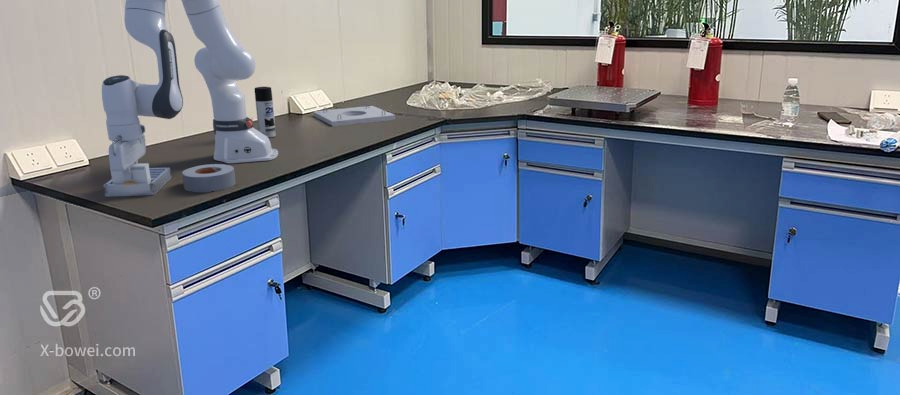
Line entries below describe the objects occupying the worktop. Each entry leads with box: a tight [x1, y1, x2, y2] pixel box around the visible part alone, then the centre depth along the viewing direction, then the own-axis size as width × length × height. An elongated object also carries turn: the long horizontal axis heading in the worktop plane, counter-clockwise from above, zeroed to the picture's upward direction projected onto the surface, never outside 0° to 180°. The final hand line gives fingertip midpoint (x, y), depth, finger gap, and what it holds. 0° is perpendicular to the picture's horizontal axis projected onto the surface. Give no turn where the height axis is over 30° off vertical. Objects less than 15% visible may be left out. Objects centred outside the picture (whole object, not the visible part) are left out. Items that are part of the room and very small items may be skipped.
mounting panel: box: [312, 103, 396, 127], centre depth 307 cm, size 27×5×30 cm
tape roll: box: [181, 163, 236, 193], centre depth 207 cm, size 15×15×5 cm
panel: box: [109, 162, 151, 184], centre depth 199 cm, size 10×3×6 cm, turn 96°
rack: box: [102, 167, 173, 198], centre depth 205 cm, size 14×18×4 cm
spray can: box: [254, 86, 277, 139], centre depth 268 cm, size 7×7×20 cm
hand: (131, 177), depth 199 cm, fingers closed on panel, 3 cm apart
